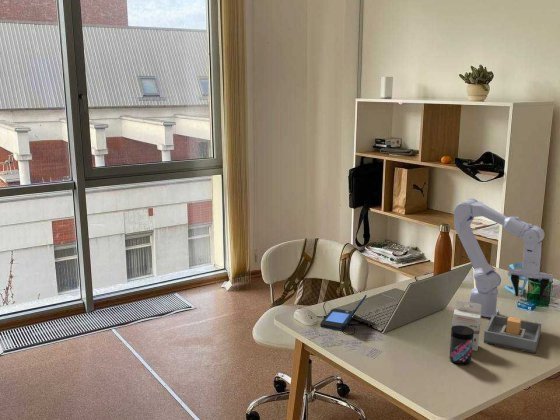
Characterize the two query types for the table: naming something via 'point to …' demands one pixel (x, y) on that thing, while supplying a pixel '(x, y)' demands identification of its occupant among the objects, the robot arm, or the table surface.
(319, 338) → the table surface
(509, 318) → the orange brown rectangular block
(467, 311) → the ink box
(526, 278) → the chair
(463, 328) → the supplement container
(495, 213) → the robot arm
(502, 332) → the socket
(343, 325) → the black screen device
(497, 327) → the walled box
